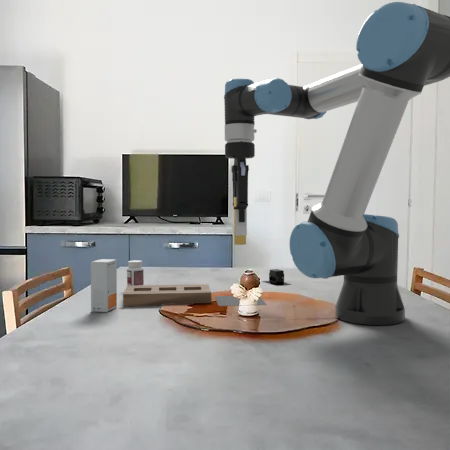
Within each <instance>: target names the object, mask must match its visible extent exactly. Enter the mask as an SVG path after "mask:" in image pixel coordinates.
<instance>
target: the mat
mask: <svg viewBox="0 0 450 450" xmlns="http://www.w3.org/2000/svg"><path fill="white" fill-rule="evenodd" d="M233 296H234V295H219V296H218V295H217V296H216V295H215V296H214V299H215V301H216V304H217V305H218V307H228V306H229V307H231V306H232V307H235V306H238V307H239V299H237V298H235V297H233ZM256 306H267V303H266V301H264V300H263V298H262V297H261V298H260V299H259V300H258V301H257V305H256Z"/></svg>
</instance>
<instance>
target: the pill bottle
mask: <svg viewBox="0 0 450 450" xmlns="http://www.w3.org/2000/svg"><path fill="white" fill-rule="evenodd" d="M127 266H128V267H127V269H126V287H127V286H135V285H145V283H144V279H145V278H144V277H145V276H144V267H142V266H143V260H137V259H136V260H135V259H134V260H129V261H127Z"/></svg>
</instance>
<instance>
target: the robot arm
mask: <svg viewBox="0 0 450 450" xmlns="http://www.w3.org/2000/svg"><path fill="white" fill-rule="evenodd" d="M355 45H356V46H355V47H356V48H355V49H356V51H357V59H358V60H359V62H360V63H361V64H359V65H356V66H353V67H351V68H348V69H345V70H342V71H339V72H338V73H335V74H332V75H329V76H327V77H325V78H323V79H319V80H318V81H317V80H316V81H315V82H312V83H310V84H307V85H303V86H300V85H293V84H289V83H288V82H286V81H285V80H284V79H282V78H279V77H278V78H267V79H266V80H265V79H264V80H262V81H259V82H254V80H252V79H250V78H231V79H229V80H227V81H226V82H225V84H224V94H223V100H224V101H223V102H224V141H225V142H226V143H225V144H224V152H225V153H224V156H225V158H226V159H233V160H234V161H233V165H231V166H230V168H231V173H232V179H231V181H232V206H233V210H234V209H239V210H236V235H246V236H247V234H248V233H247V232H248V229H247V228H248V227H247V225H248V224H247V223H248V222H247V221H248V219H247V217H248V216H247V213H248V212H247V210H248V209H247V208H248V207H249V202H248V201H249V198H248V197H249V195H248V194H249V191H248V190H249V170H250V169H249V164H247V160H248V159H253V158H255V156H256V154H255V153H256V151H255V150H256V149H255V144H254V141H255V134H256V133H257V131H258V130H257V129H256V128H255V122H256V121H255V117H256V116H263V115H273V116H280V117H281V116H282V117H291V118H299V119H306V120H317V119H320V118H323V116H324V115H325V114H326V113H327V112H329V111H331V110H334V109H338V108H341V107H345V106H348V105H350V104H354V103H356V106H355V109H354V112H353V115H352V117H351V121H350V123H349V125H348V129H347V131H346V134H345V138H344V140H343V143H342V146H341V148H340V150H339V151H340V152H339V154H338V157H337V160H336V163H335V165H334V168H333V171H332V174H331V176H330V180H329V183H328V185H327V188H326V191H325V193H324V197H323V199H322V201H321V202H318V203H317V204H314V205H313V206H312V208H311V211H310V213H309V216H308V220H307V221H302V222H300V223H299V224H297V225H295V227H293V229H292V230H291V233H290V236H289V251H290V255H291V257H292V261H293V263H294V266H295V267H296V268H297V270H298V271H299V272H301V274H303V275H304V276H305V277H307V278H311V279H330V278H333V277H338V276H339V277H340V276H343V284H342V287H341V288H340V289H341V290H340V292H339V295H338V298H337V301H336V304H335V309H334V310H335V312H334V313H335V316H336V318H337V317H338V318H337V319H339V320H341V321H343V322H348V323H353V324H359V325H365V326H366V325H367V326H368V325H369V326H389V325H397V324H401V323H403V322H405V320H406V309H405V306H404V302H403V298H402V296H401V292H400V289H399V286H398V266H399V265H398V264H399V263H398V261H399V259H398V258H399V239H400V234H399V224H398V222H397V220H396V219H395V218H393V217H390V216H386V215H385V216H384V215H379V214H378V215H377V214H374V215H373V214H367V213H366V210H367V209H368V208H367V207H368V204H369V202H370V200H371V197H372V195H373V193H374V190H375V188H376V184H377V182H378V179H379V178H380V175H381V172H382V169H383V167H384V164H385V163H386V160H387V158H388V155H389V152H390V149H391V147H392V145H393V142H394V139H395V137H396V134H397V132H398V129H399V126H400V124H401V121H402V120H403V119H402V118H403V116H404V114H405V111H406V109H407V106H408V104H409V101H410V100H412V99H413V98H414V97H417V96H419V95H421V93H422V91H423V89H424V87H425V86H428V85H432V84H434V83H438V82H441V81H443V80H445V79H449V77H450V16H449V15H447V14H441V13H438V12H436V11H434V10H431V9H428V8H426V7H424V6H421V5H417V4H415V3H409V2H403V1H391V2H388V3H385V4H383V5H381V6H380V7H379V8H378V9H376V10H374V11H373V12H372V13H371V14H370V15H369V16H368V17H367V18H366V20H365V21H363V24H362V26H361V28H360V30H359V32H358V35H357V38H356V44H355ZM234 197H236V207H234Z"/></svg>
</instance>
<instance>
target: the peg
mask: <svg viewBox="0 0 450 450" xmlns="http://www.w3.org/2000/svg"><path fill="white" fill-rule="evenodd" d="M234 207H236V197H234V206H233V234H234V235H233V236H234V237H233V238H234V239H233V240H234V241H233V243H234V245H237V246H241V245H242V246H243V245H244V246H245V245H246V244H247V235H236V210H239V209H234Z"/></svg>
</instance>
